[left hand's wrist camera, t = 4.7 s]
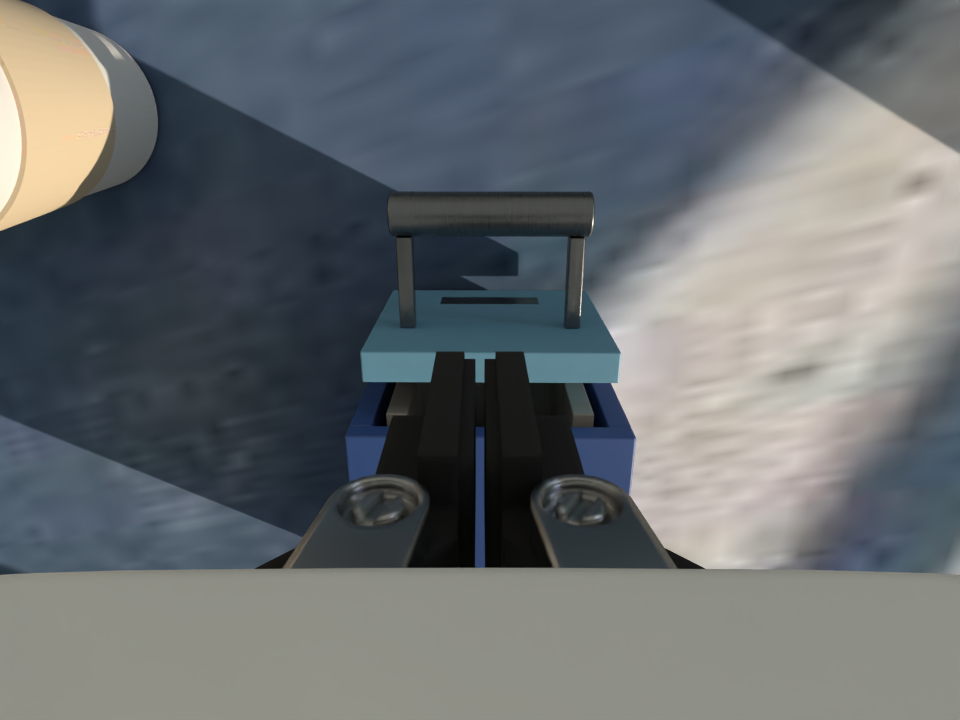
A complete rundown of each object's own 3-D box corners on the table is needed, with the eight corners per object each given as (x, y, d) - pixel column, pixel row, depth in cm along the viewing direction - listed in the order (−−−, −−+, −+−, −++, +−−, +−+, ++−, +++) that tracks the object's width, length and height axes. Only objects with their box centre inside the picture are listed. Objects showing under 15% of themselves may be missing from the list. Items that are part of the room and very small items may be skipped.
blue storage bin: (386, 339, 32) (343, 435, 22) (591, 340, 32) (636, 437, 22) (400, 577, 38) (370, 736, 28) (575, 579, 37) (605, 738, 28)
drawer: (387, 177, 28) (348, 201, 20) (593, 177, 28) (634, 201, 20) (405, 531, 35) (382, 651, 27) (570, 532, 35) (594, 653, 27)
